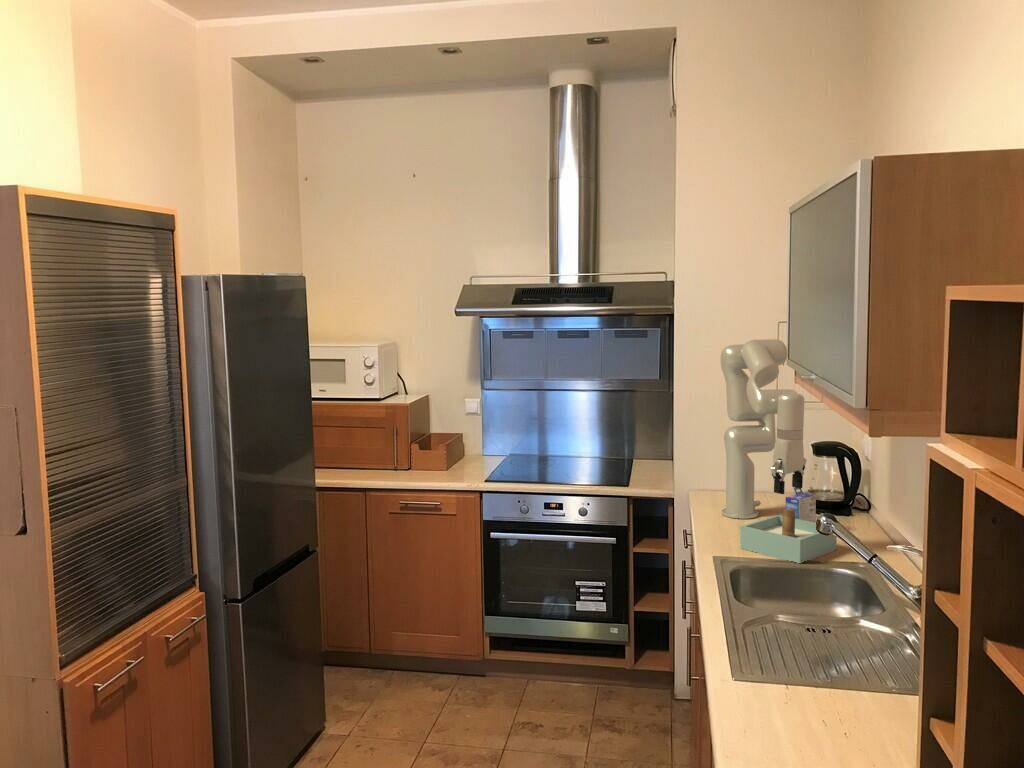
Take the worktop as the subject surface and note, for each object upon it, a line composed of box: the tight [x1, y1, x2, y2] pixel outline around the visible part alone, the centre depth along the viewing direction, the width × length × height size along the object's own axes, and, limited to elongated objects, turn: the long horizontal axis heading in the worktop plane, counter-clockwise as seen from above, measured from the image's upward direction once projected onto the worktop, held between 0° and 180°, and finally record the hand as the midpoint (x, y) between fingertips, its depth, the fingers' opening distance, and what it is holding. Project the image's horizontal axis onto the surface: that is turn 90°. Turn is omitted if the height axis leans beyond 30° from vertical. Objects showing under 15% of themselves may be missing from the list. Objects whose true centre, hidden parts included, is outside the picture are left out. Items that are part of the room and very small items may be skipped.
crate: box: [739, 514, 838, 564], centre depth 250 cm, size 20×20×7 cm
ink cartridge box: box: [785, 487, 817, 523], centre depth 269 cm, size 10×6×14 cm, turn 129°
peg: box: [781, 508, 795, 538], centre depth 250 cm, size 4×4×12 cm
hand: (788, 490), depth 249 cm, fingers open, 9 cm apart
